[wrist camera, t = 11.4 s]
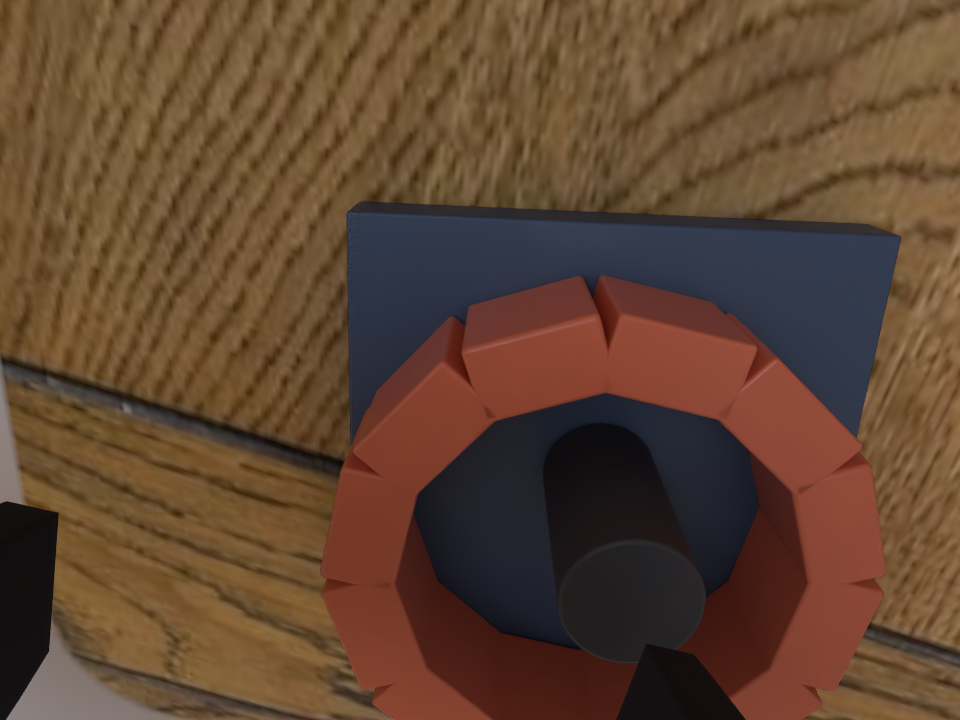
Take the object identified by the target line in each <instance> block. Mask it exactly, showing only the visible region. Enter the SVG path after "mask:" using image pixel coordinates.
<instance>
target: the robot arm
mask: <svg viewBox="0 0 960 720" xmlns="http://www.w3.org/2000/svg"><path fill="white" fill-rule="evenodd" d="M58 515H59V513H57V512H53V511H48V510H44V509H39V508H35V507H30V506H26V505H21V504H17V503H12V502H8V501H7V502H3V503H1V504H0V720H6V719H7V717H8V716H9V714H10V713H11V711H12V710H13V708H14V706H15V705H16V703H17V702H18V700H19V699H20V697H21V696H22V694H23V692H24V691H25V689H26V688H27V686H28V684H29V683H30V681H31V679H32V678H33V676H34V675H35V673H36V671H37V670H38V668H39V667H40V665H41V663H42V662H43V660H44V658H45V657H46V655H47V654H48V652H49V643H50V629H51V615H52V600H53V586H54V572H55V558H56V543H57V529H58ZM616 720H746V719H745V718H744V717H743V715H742V714H741V713H740V711H739V710H738V709H737V707H736V706H735V705H734V704H733V702H732V701H731V700H730V698H729V697H728V696H727V695H726V693H725V692H724V691H723V689H722V688H721V687H720V686H719V684H718V683H717V682H716V681H715V679H714V678H713V677H712V675H711V674H710V673H709V672H708V671H707V669H706V668H705V667H704V666H703V664H702V663H701V662H700V661H699V660H698V659H697V657H696V656H695V655H694V654H691V653H687V652H682V651H678V650H673V649H669V648H664V647H660V646H655V645H651V644H646V645H645V647H644V650H643V652H642V655H641V658H640V660H639V663H638V665H637V668H636V670H635V673H634V675H633V678H632V681H631V683H630V686H629V688H628V691H627V693H626V696H625V698H624V701H623V704H622V706H621V709H620V711H619V714H618V716H617V719H616Z"/></svg>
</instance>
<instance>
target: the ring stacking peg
mask: <svg viewBox="0 0 960 720" xmlns="http://www.w3.org/2000/svg"><path fill="white" fill-rule="evenodd" d="M900 241H901V237H900V236H898V235H896V234H893V233H890V232H888V231H885V230H882V229H879V228H876V227H874V226H871V225H868V224H849V223H827V222H805V221H782V220H760V219H738V218H715V217H693V216H671V215H648V214H626V213H604V212H582V211H559V210H537V209H515V208H492V207H470V206H448V205H425V204H403V203H381V202H359V203H358V204H357V205H355V206H354V207H353V208H352V209H350V210H349V211H348V212H347V263H348V322H349V382H350V441H351V445H352V443H353V440H354V438H355V436H356V433H357V431H358V428H359V426H360V424H361V421H362V419H363V417H364V414H365V412H366V410H367V409H368V408H370V406H371V403H372V401H373V399H374V396H375V394H376V391H377V390H378V389H379V388H380V387H381V386H382V385H383V384H384V383H385V382H386V381H387V380H388V379H389V378H390V377H391V376H392V375H393V374H394V373H395V372H396V371H397V370H398V369H399V368H400V367H401V366H402V365H403V364H404V363H405V362H406V361H407V360H408V359H409V357H410V356H411V355H412V354H413V353H414V352H415V351H416V350H417V349H418V348H419V347H420V346H421V345H422V344H423V343H424V342H425V341H426V340H427V339H428V338H429V337H430V336H431V335H432V334H433V333H434V332H435V331H436V330H437V329H438V328H439V327H440V326H441V325H442V324H443V323H444V322H445V321H446V320H447V319H448V318H449V317H452V316H453V317H455V318H456V319H458V320H459V321H460V322H461V323H462V324H463V325H464V326H465V325H466V319H467V312H468V307H470V306H471V305H473V304H477V303H481V302H484V301H488V300H492V299H495V298H499V297H503V296H506V295H510V294H514V293H517V292H521V291H525V290H528V289H532V288H535V287H539V286H543V285H546V284H550V283H554V282H557V281H561V280H565V279H568V278H572V277H576V276H582V278H583V279H584V281H585V283H586V285H587V287H588V290H589V292H590V294H591V296H592V298H593V294H594V291H595V288H596V284H597V281H598V278H599V277H600V276H601V275H606V276H610V277H614V278H618V279H622V280H626V281H630V282H634V283H638V284H642V285H646V286H650V287H654V288H658V289H662V290H666V291H670V292H674V293H678V294H682V295H686V296H690V297H694V298H698V299H702V300H706V301H710V302H712V303H714V304H715V305H716V306H717V307H718V308H719V309H720V310H721V311H722V312H723V313H724V314H725V315H726V314H727V313H731V314H733V315H734V316H735V317H736V318H737V319H738V320H739V321H740V322H742V323H743V324H744V325H745V326H746V327H747V328H748V329H749V330H750V331H751V332H752V333H753V334H754V335H755V336H756V337H757V338H758V339H759V340H760V341H761V342H762V343H764V344H765V345H766V346H767V347H768V348H769V349H770V350H771V351H772V352H773V353H774V354H775V355H776V356H777V357H778V358H779V359H780V360H781V361H782V362H783V363H784V364H785V365H786V366H787V367H788V368H789V369H790V370H791V371H792V372H793V373H794V374H795V375H796V376H797V377H798V378H799V379H800V381H801V382H802V383H803V384H804V385H805V386H806V387H807V388H808V389H809V390H810V391H811V392H812V393H813V394H814V395H815V396H816V397H817V398H818V399H819V400H820V401H821V402H822V403H823V404H824V405H825V406H826V407H827V408H828V409H829V411H830V412H831V413H832V414H833V415H834V416H835V417H836V418H837V419H838V420H839V421H840V422H841V423H842V424H843V425H844V426H845V427H846V428H847V429H848V430H849V431H850V432H851V433H852V434H853V435H854V436H855V437H857V433H858V428H859V424H860V419H861V415H862V411H863V406H864V402H865V397H866V393H867V388H868V384H869V379H870V375H871V370H872V366H873V362H874V357H875V353H876V348H877V344H878V339H879V335H880V330H881V326H882V321H883V317H884V312H885V308H886V304H887V299H888V295H889V290H890V286H891V281H892V277H893V272H894V268H895V263H896V259H897V255H898V250H899V246H900ZM759 507H760V505H759V500H758V495H757V490H756V485H755V480H754V474H753V469H752V464H751V459H750V454H749V450H747V449H746V448H745V447H744V446H743V445H742V444H741V443H740V442H739V441H738V440H737V439H736V438H735V437H734V436H733V435H732V434H731V433H730V432H729V431H728V430H727V429H726V428H725V427H724V426H723V425H722V424H721V423H720V422H719V421H718V420H716V419H712V418H708V417H704V416H699V415H695V414H691V413H687V412H683V411H679V410H674V409H670V408H666V407H662V406H658V405H654V404H650V403H645V402H641V401H637V400H633V399H629V398H625V397H620V396H616V395H612V394H608V393H603V394H600V395H596V396H592V397H588V398H584V399H580V400H576V401H572V402H568V403H564V404H560V405H556V406H552V407H549V408H545V409H541V410H537V411H533V412H529V413H525V414H521V415H517V416H513V417H509V418H505V419H502V420H498V421H495V422H494V423H493V424H492V425H491V426H490V427H489V428H488V429H486V430H485V431H484V432H483V433H482V434H481V435H480V436H479V437H478V438H477V439H476V440H475V441H474V442H473V443H472V444H470V445H469V446H468V447H467V448H466V449H465V450H464V451H463V452H462V453H461V454H460V455H459V456H458V457H457V458H456V459H454V460H453V461H452V462H451V463H450V464H449V465H448V466H447V467H446V468H445V469H444V470H443V471H442V472H441V473H440V474H438V475H437V476H436V477H435V478H434V479H433V480H432V481H431V482H430V483H429V484H428V485H427V486H426V487H425V488H424V489H422V490H421V491H420V492H419V493H418V497H417V501H416V505H415V509H414V513H413V514H414V516H415V519H416V522H417V525H418V527H419V530H420V533H421V536H422V539H423V541H424V544H425V547H426V550H427V552H428V555H429V558H430V561H431V564H432V566H433V569H434V572H435V575H436V577H437V580H438V582H439V583H441V584H442V585H443V586H444V587H446V588H447V589H448V590H449V591H451V592H452V593H453V594H454V595H455V596H457V597H458V598H459V599H460V600H462V601H463V602H464V603H465V604H466V605H468V606H469V607H470V608H471V609H473V610H474V611H475V612H476V613H477V614H479V615H480V616H481V617H482V618H484V619H485V620H486V621H487V622H488V623H490V624H491V625H492V626H493V627H495V628H496V629H497V630H498V631H499V632H501V633H506V634H510V635H515V636H519V637H524V638H528V639H533V640H537V641H542V642H547V643H551V644H556V645H560V646H565V647H569V648H574V649H578V650H581V649H583V650H585V651H586V652H588V653H590V654H592V655H594V656H596V657H598V658H601V659H604V660H607V661H612V662H618V663H639V660H640V658H641V655H642V652H643V650H644V647H645V645H646V644H651V645H655V646H660V647H664V648H669V649H673V650H676V649H677V648H679V647H680V646H681V645H682V644H684V643H685V642H686V641H687V640H688V639H689V638H690V637H691V636H692V634H693V633H694V632H695V630H696V629H697V627H698V625H699V624H700V621H701V619H702V616H703V613H704V609H705V604H706V597H708V596H709V595H710V594H711V593H713V592H714V591H715V590H717V589H718V588H719V587H720V586H722V585H723V584H724V583H726V582H727V581H728V580H729V578H730V576H731V573H732V571H733V568H734V566H735V564H736V561H737V559H738V557H739V554H740V552H741V549H742V547H743V545H744V542H745V540H746V538H747V535H748V533H749V530H750V528H751V526H752V523H753V521H754V519H755V516H756V514H757V511H758V509H759Z"/></svg>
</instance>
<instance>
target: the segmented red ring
mask: <svg viewBox="0 0 960 720" xmlns="http://www.w3.org/2000/svg"><path fill="white" fill-rule="evenodd" d="M603 393H608V394H612V395H616V396H620V397H625V398H629V399H633V400H637V401H641V402H645V403H650V404H654V405H658V406H662V407H666V408H670V409H674V410H679V411H683V412H687V413H691V414H695V415H699V416H704V417H708V418H712V419H716V420H718V421H719V422H720V423H721V424H722V425H723V426H724V427H725V428H726V429H727V430H728V431H729V432H730V433H731V434H732V435H733V436H734V437H735V438H736V439H737V440H738V441H739V442H740V443H741V444H742V445H743V446H744V447H745V448H746V449H747V450H749V454H750V459H751V464H752V469H753V474H754V480H755V485H756V490H757V495H758V500H759V505H760V507H759V509H758V511H757V514H756V516H755V519H754V521H753V523H752V526H751V528H750V530H749V533H748V535H747V538H746V540H745V542H744V545H743V547H742V549H741V552H740V554H739V557H738V559H737V561H736V564H735V566H734V568H733V571H732V573H731V576H730V578H729V580H728V581H727V582H726V583H724V584H723V585H722V586H720V587H719V588H718V589H717V590H715V591H714V592H713V593H711V594H710V595H709V596H708V597H706V604H705V609H704V613H703V616H702V619H701V621H700V624H699V625H698V627H697V629H696V630H695V632H694V633H693V634H692V636H691V637H690V638H689V639H688V640H687V641H686V642H685V643H684V644H682V645H681V646H680V647H679V648H677V649H676V650H678V651H682V652H687V653H691V654H694V655H695V656H696V657H697V659H698V660H699V661H700V662H701V663H702V664H703V666H704V667H705V668H706V669H707V671H708V672H709V673H710V674H711V675H712V677H713V678H714V679H715V681H716V682H717V683H718V684H719V686H720V687H721V688H722V689H723V691H724V692H725V693H726V695H727V696H728V697H729V698H730V700H731V701H732V702H733V704H734V705H735V706H736V707H737V709H738V710H739V711H740V713H741V714H742V715H743V717H744V718H745V719H746V720H802V719H804V718H805V717H806V716H808V715H809V714H811V713H812V712H814V711H815V710H817V709H818V708H819V707H821V706H822V705H823V704H822V701H821V699H820V697H819V695H818V693H817V691H816V689H815V688H819V689H824V690H828V691H835V690H836V688H837V686H838V684H839V682H840V680H841V678H842V677H843V675H844V673H845V671H846V669H847V667H848V665H849V663H850V661H851V659H852V657H853V655H854V653H855V651H856V649H857V647H858V645H859V643H860V641H861V639H862V637H863V635H864V633H865V631H866V629H867V627H868V625H869V623H870V621H871V619H872V617H873V615H874V613H875V611H876V609H877V607H878V605H879V603H880V601H881V599H882V597H883V595H884V592H883V590H882V589H881V588H880V586H879V585H878V584H877V582H876V581H875V580H874V579H873V578H878V577H882V576H884V575H885V574H886V566H885V559H884V552H883V545H882V537H881V530H880V523H879V515H878V508H877V501H876V494H875V486H874V479H873V472H872V466H871V465H870V463H869V462H868V461H867V460H866V459H865V458H864V457H863V456H862V455H861V454H860V453H859V452H860V451H861V450H862V444H861V443H860V442H859V441H858V439H857V438H856V437H855V436H854V435H853V434H852V433H851V432H850V431H849V430H848V429H847V428H846V427H845V426H844V425H843V424H842V423H841V422H840V421H839V420H838V419H837V418H836V417H835V416H834V415H833V414H832V413H831V412H830V411H829V409H828V408H827V407H826V406H825V405H824V404H823V403H822V402H821V401H820V400H819V399H818V398H817V397H816V396H815V395H814V394H813V393H812V392H811V391H810V390H809V389H808V388H807V387H806V386H805V385H804V384H803V383H802V382H801V381H800V379H799V378H798V377H797V376H796V375H795V374H794V373H793V372H792V371H791V370H790V369H789V368H788V367H787V366H786V365H785V364H784V363H783V362H782V361H781V360H780V359H779V358H778V357H777V356H776V355H775V354H774V353H773V352H772V351H771V350H770V349H769V348H768V347H767V346H766V345H765V344H764V343H762V342H761V341H760V340H759V339H758V338H757V337H756V336H755V335H754V334H753V333H752V332H751V331H750V330H749V329H748V328H747V327H746V326H745V325H744V324H743V323H742V322H740V321H739V320H738V319H737V318H736V317H735V316H734V315H733V314H731V313H727V314H726V315H725V314H724V313H723V312H722V311H721V310H720V309H719V308H718V307H717V306H716V305H715V304H714V303H712V302H710V301H706V300H702V299H698V298H694V297H690V296H686V295H682V294H678V293H674V292H670V291H666V290H662V289H658V288H654V287H650V286H646V285H642V284H638V283H634V282H630V281H626V280H622V279H618V278H614V277H610V276H606V275H601V276H600V277H599V278H598V281H597V284H596V288H595V291H594V294H593V298H592V296H591V294H590V292H589V290H588V287H587V285H586V283H585V281H584V279H583V278H582V276H576V277H572V278H568V279H565V280H561V281H557V282H554V283H550V284H546V285H543V286H539V287H535V288H532V289H528V290H525V291H521V292H517V293H514V294H510V295H506V296H503V297H499V298H495V299H492V300H488V301H484V302H481V303H477V304H473V305H471V306H470V307H468V312H467V319H466V325H465V326H464V325H463V324H462V323H461V322H460V321H459V320H458V319H456V318H455V317H453V316H452V317H449V318H448V319H447V320H446V321H445V322H444V323H443V324H442V325H441V326H440V327H439V328H438V329H437V330H436V331H435V332H434V333H433V334H432V335H431V336H430V337H429V338H428V339H427V340H426V341H425V342H424V343H423V344H422V345H421V346H420V347H419V348H418V349H417V350H416V351H415V352H414V353H413V354H412V355H411V356H410V357H409V359H408V360H407V361H406V362H405V363H404V364H403V365H402V366H401V367H400V368H399V369H398V370H397V371H396V372H395V373H394V374H393V375H392V376H391V377H390V378H389V379H388V380H387V381H386V382H385V383H384V384H383V385H382V386H381V387H380V388H379V389H378V390H377V391H376V394H375V396H374V399H373V401H372V403H371V406H370V408H368V409H367V410H366V412H365V414H364V417H363V419H362V421H361V424H360V426H359V428H358V431H357V433H356V436H355V438H354V440H353V443H352V445H351V447H350V450H349V452H348V455H347V457H346V459H345V462H344V464H343V466H342V469H341V472H340V477H339V482H338V487H337V492H336V497H335V501H334V506H333V511H332V516H331V521H330V525H329V530H328V535H327V540H326V545H325V550H324V554H323V559H322V564H321V569H320V572H321V576H322V577H324V578H327V579H326V582H325V584H324V587H323V590H322V597H323V600H324V602H325V604H326V607H327V609H328V612H329V614H330V616H331V619H332V621H333V623H334V626H335V628H336V631H337V633H338V635H339V638H340V640H341V642H342V645H343V647H344V650H345V652H346V654H347V657H348V659H349V661H350V664H351V666H352V669H353V671H354V673H355V676H356V678H357V680H358V683H359V685H360V688H361V689H362V690H368V689H372V688H375V691H374V696H373V701H372V703H373V705H375V706H376V707H377V708H379V709H380V710H381V711H383V712H384V713H385V714H387V715H388V716H389V717H391V718H392V719H393V720H616V719H617V716H618V714H619V711H620V709H621V706H622V704H623V701H624V698H625V696H626V693H627V691H628V688H629V686H630V683H631V681H632V678H633V675H634V673H635V670H636V668H637V665H638V663H618V662H612V661H607V660H604V659H601V658H598V657H596V656H594V655H592V654H590V653H588V652H586V651H585V650H583V649H581V650H578V649H574V648H569V647H565V646H560V645H556V644H551V643H547V642H542V641H537V640H533V639H528V638H524V637H519V636H515V635H510V634H506V633H501V632H499V631H498V630H497V629H496V628H495V627H493V626H492V625H491V624H490V623H488V622H487V621H486V620H485V619H484V618H482V617H481V616H480V615H479V614H477V613H476V612H475V611H474V610H473V609H471V608H470V607H469V606H468V605H466V604H465V603H464V602H463V601H462V600H460V599H459V598H458V597H457V596H455V595H454V594H453V593H452V592H451V591H449V590H448V589H447V588H446V587H444V586H443V585H442V584H441V583H439V582H438V580H437V577H436V575H435V572H434V569H433V566H432V564H431V561H430V558H429V555H428V552H427V550H426V547H425V544H424V541H423V539H422V536H421V533H420V530H419V527H418V525H417V522H416V519H415V516H414V514H413V513H414V509H415V505H416V501H417V497H418V493H419V492H420V491H421V490H422V489H424V488H425V487H426V486H427V485H428V484H429V483H430V482H431V481H432V480H433V479H434V478H435V477H436V476H437V475H438V474H440V473H441V472H442V471H443V470H444V469H445V468H446V467H447V466H448V465H449V464H450V463H451V462H452V461H453V460H454V459H456V458H457V457H458V456H459V455H460V454H461V453H462V452H463V451H464V450H465V449H466V448H467V447H468V446H469V445H470V444H472V443H473V442H474V441H475V440H476V439H477V438H478V437H479V436H480V435H481V434H482V433H483V432H484V431H485V430H486V429H488V428H489V427H490V426H491V425H492V424H493V423H494V422H495V421H498V420H502V419H505V418H509V417H513V416H517V415H521V414H525V413H529V412H533V411H537V410H541V409H545V408H549V407H552V406H556V405H560V404H564V403H568V402H572V401H576V400H580V399H584V398H588V397H592V396H596V395H600V394H603ZM814 687H815V688H814Z"/></svg>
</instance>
